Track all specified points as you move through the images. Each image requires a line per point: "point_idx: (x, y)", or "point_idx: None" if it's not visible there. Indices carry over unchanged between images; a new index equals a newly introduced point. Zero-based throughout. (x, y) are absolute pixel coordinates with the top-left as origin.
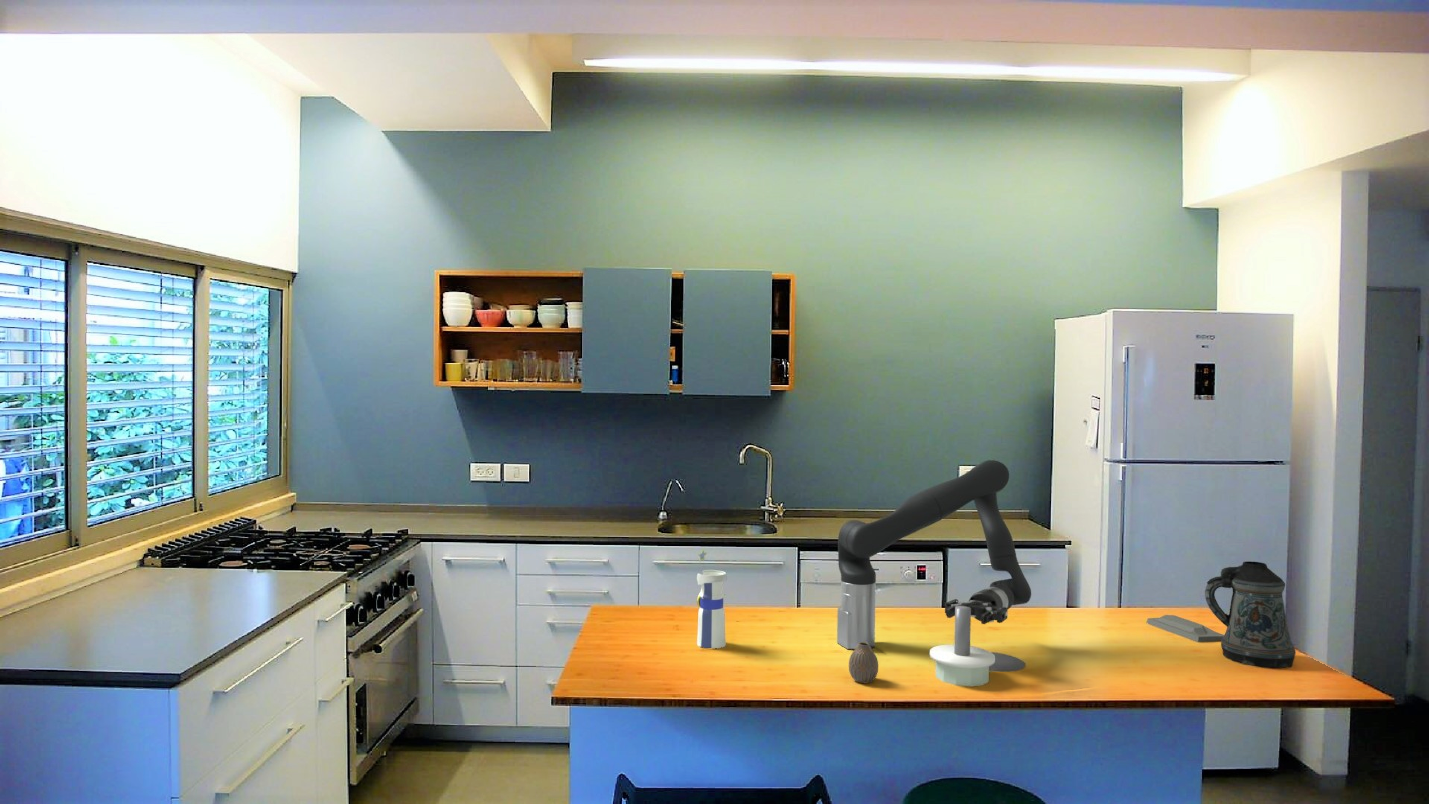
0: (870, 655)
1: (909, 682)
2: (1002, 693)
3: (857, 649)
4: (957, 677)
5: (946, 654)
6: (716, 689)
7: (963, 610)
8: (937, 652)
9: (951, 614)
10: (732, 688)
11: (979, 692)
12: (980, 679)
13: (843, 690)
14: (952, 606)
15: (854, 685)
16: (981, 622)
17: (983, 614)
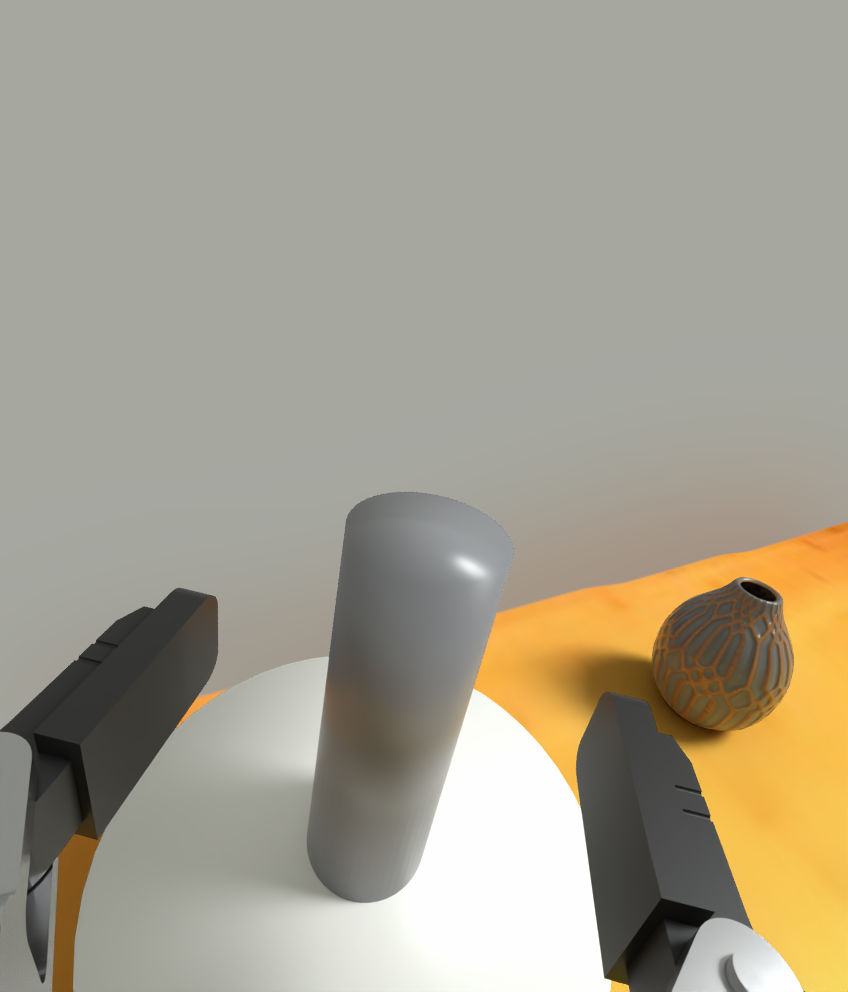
0: (696, 600)
1: (558, 747)
2: None
3: (753, 594)
4: None
5: (460, 770)
6: (830, 557)
7: (408, 498)
8: (524, 790)
9: (594, 790)
10: (821, 567)
11: None
12: None
13: (661, 613)
14: (694, 870)
15: None
16: (215, 651)
17: (186, 602)
